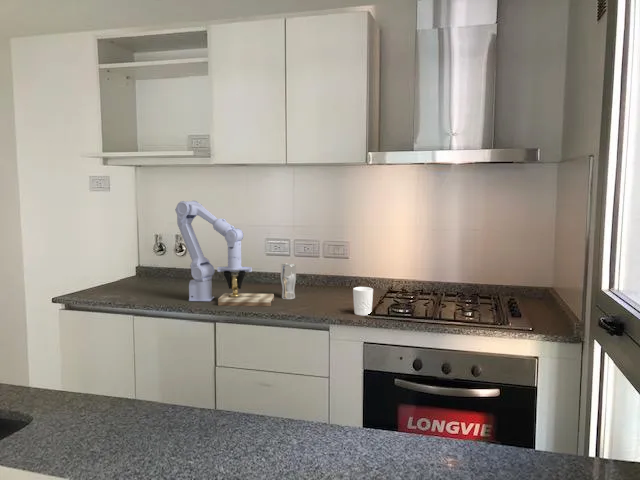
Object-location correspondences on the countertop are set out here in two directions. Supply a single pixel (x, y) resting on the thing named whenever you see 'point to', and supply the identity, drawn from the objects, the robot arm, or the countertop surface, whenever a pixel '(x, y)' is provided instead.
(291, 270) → the beer glass
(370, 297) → the white cup
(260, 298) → the checkered wooden board
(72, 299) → the countertop surface
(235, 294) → the brass peg
